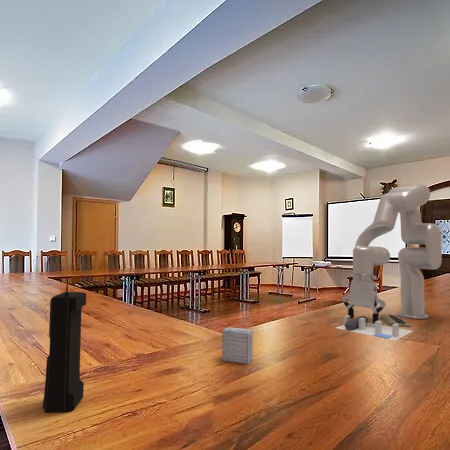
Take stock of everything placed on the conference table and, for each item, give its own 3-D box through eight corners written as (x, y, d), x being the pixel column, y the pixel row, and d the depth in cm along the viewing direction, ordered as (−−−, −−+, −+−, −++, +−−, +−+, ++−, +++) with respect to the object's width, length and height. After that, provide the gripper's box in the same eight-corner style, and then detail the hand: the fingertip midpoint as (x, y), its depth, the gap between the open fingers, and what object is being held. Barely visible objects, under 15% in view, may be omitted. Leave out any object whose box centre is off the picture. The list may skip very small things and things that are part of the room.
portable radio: (56, 395, 76) (60, 280, 77) (85, 394, 76) (88, 280, 77) (40, 413, 68) (45, 285, 69) (72, 412, 68) (76, 285, 69)
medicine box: (252, 359, 99) (253, 329, 100) (248, 365, 95) (249, 333, 95) (226, 356, 102) (227, 326, 102) (221, 361, 98) (222, 330, 98)
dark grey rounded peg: (360, 323, 140) (360, 315, 140) (367, 324, 137) (367, 316, 138) (343, 329, 130) (343, 321, 130) (351, 331, 127) (351, 322, 128)
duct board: (355, 322, 145) (355, 310, 145) (413, 333, 129) (413, 320, 129) (334, 330, 132) (334, 317, 132) (395, 343, 116) (395, 328, 117)
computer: (411, 331, 134) (411, 322, 134) (389, 329, 136) (389, 321, 136) (399, 321, 150) (399, 314, 150) (379, 320, 151) (379, 313, 151)
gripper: (388, 279, 135) (389, 323, 134) (346, 275, 147) (346, 315, 147) (381, 280, 130) (381, 326, 129) (338, 276, 142) (338, 318, 142)
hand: (362, 320), depth 138 cm, fingers open, 9 cm apart
